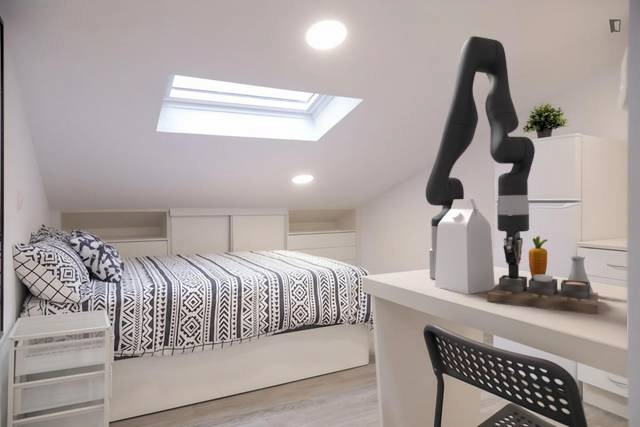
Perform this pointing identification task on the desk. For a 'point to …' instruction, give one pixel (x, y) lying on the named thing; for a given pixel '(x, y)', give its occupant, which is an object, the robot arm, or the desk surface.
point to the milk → (464, 250)
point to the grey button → (543, 278)
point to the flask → (578, 270)
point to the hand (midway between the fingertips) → (513, 278)
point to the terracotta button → (575, 283)
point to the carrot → (538, 258)
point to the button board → (545, 294)
